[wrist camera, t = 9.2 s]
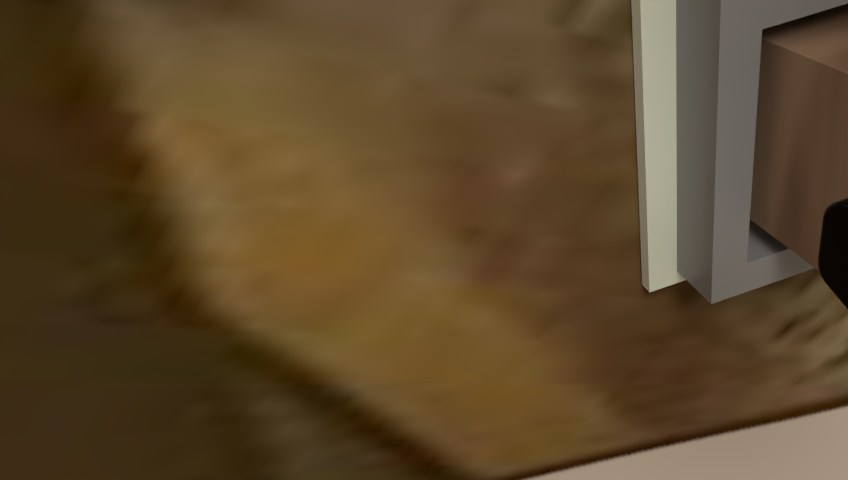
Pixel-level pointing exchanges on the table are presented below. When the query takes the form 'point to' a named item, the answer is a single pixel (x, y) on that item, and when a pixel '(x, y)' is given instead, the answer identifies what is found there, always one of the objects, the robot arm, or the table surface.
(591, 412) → the table surface
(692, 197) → the socket board
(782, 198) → the walnut block
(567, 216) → the table surface
